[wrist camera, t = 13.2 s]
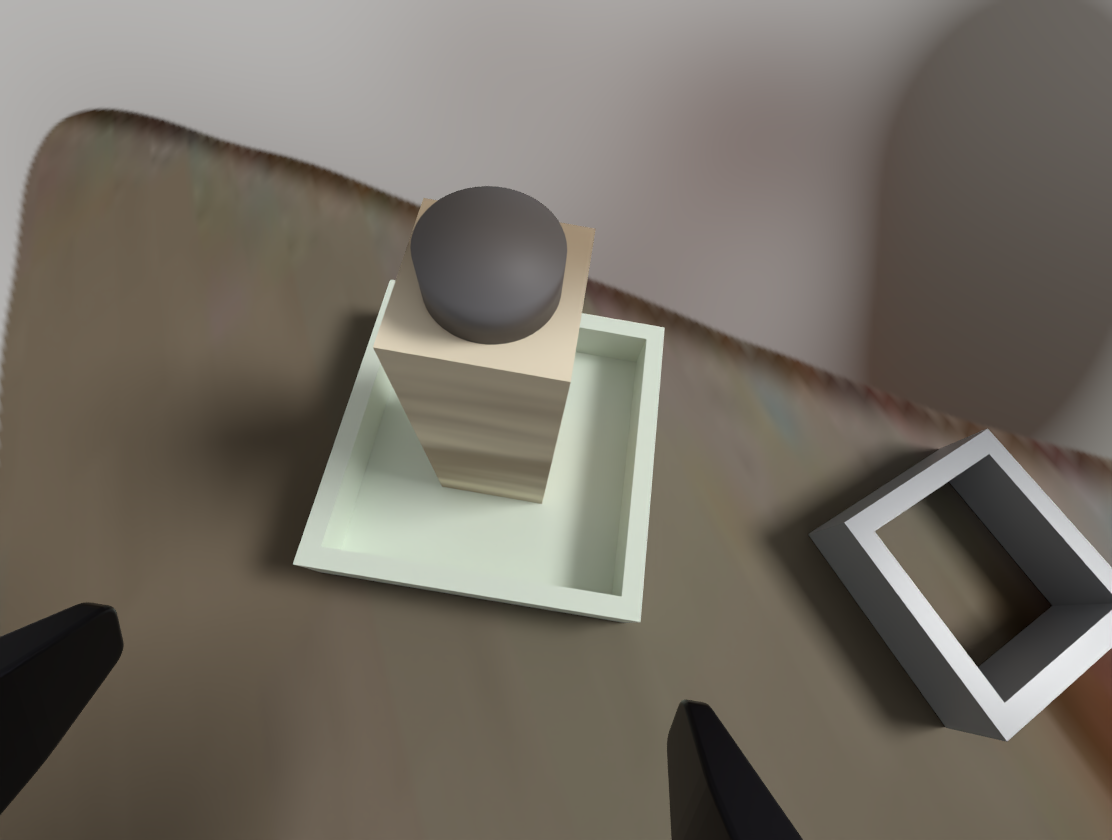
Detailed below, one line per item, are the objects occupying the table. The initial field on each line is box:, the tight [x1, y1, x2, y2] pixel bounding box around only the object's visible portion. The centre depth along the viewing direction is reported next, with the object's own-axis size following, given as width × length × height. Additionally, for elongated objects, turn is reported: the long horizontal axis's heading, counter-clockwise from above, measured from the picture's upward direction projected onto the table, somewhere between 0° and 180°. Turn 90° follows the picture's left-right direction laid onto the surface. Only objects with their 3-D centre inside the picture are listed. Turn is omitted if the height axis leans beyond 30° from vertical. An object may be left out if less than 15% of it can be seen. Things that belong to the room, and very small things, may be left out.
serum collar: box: [808, 429, 1112, 741], centre depth 20 cm, size 8×8×2 cm
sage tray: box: [293, 280, 664, 623], centre depth 20 cm, size 12×12×2 cm
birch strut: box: [373, 186, 595, 504], centre depth 15 cm, size 4×4×12 cm
